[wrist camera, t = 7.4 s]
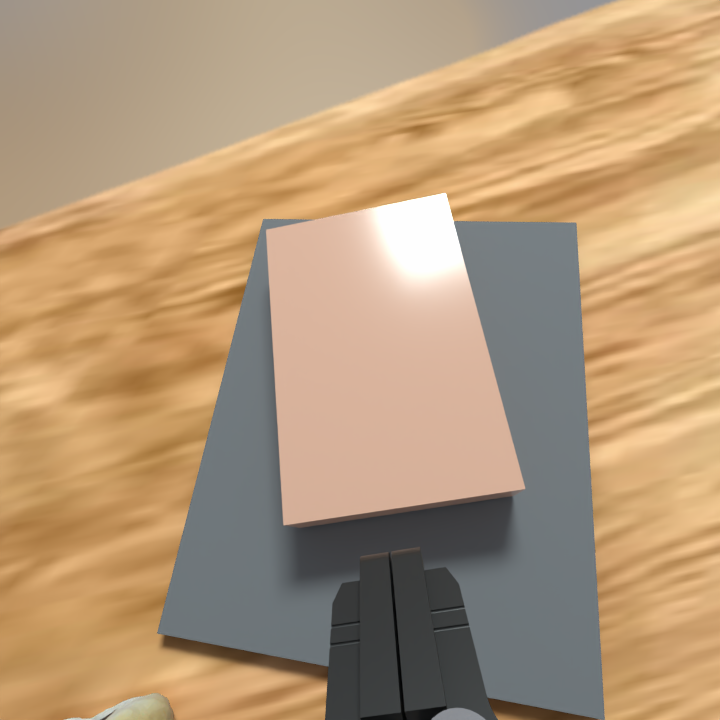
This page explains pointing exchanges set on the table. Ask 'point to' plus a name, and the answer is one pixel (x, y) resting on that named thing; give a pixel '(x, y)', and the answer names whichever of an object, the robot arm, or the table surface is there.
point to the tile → (382, 368)
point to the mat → (428, 526)
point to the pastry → (138, 709)
